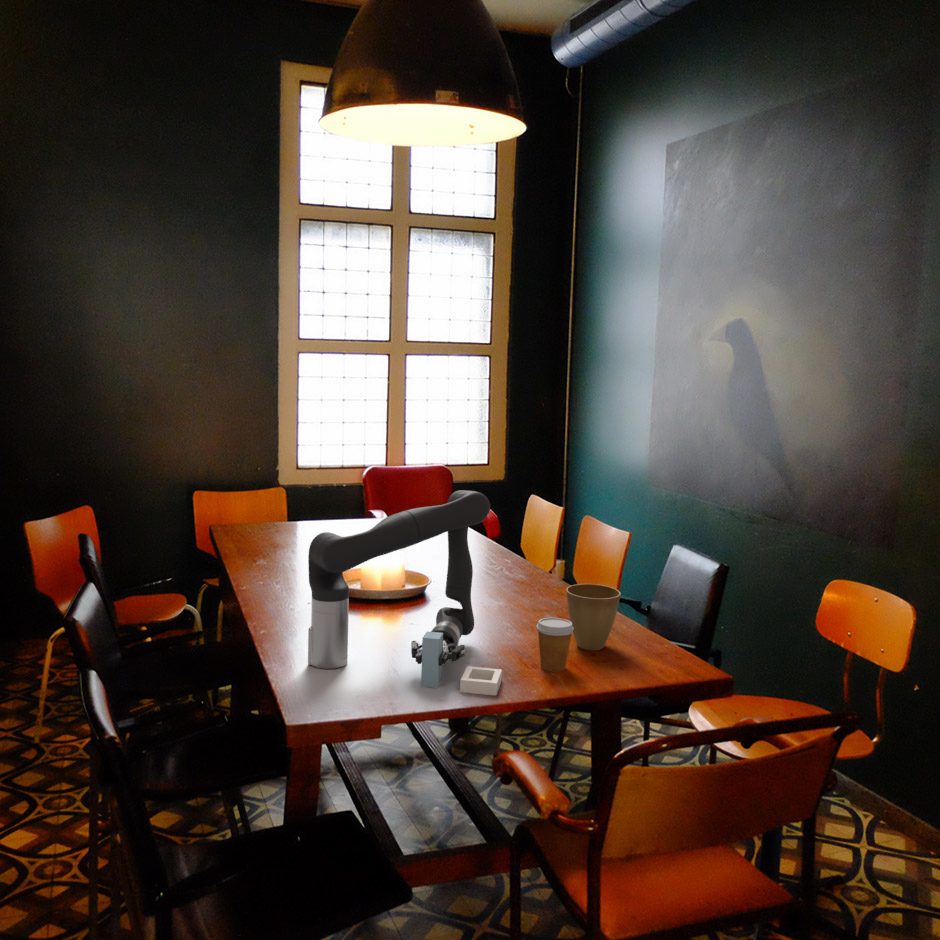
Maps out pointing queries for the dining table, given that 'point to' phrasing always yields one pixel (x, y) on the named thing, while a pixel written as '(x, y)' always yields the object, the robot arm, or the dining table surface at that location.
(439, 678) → the blue-grey rectangular block
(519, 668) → the dining table surface
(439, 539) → the dining table surface
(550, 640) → the disposable coffee cup
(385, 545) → the robot arm
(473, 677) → the end cap
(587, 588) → the plant pot
